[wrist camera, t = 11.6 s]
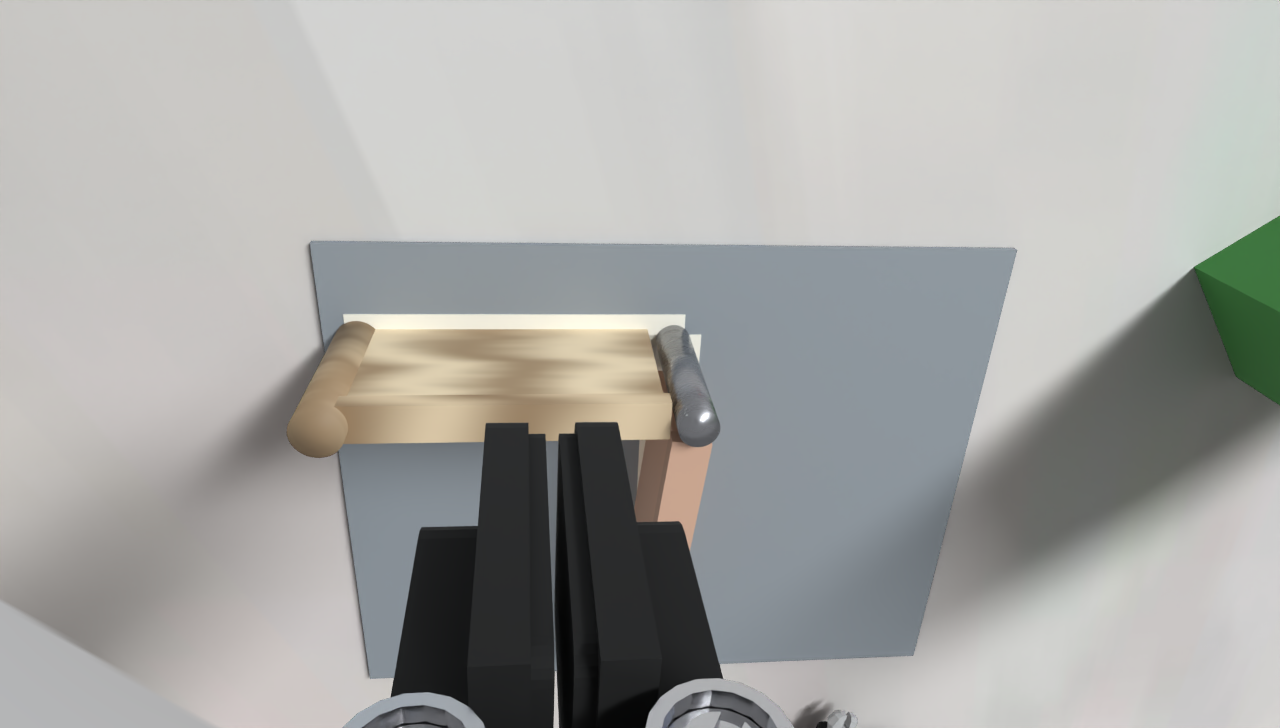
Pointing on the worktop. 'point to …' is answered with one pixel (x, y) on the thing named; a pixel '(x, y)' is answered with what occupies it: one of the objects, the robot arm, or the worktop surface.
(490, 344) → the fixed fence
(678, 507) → the fence gate
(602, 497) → the robot arm
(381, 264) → the card
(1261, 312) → the hardback book
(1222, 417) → the worktop surface
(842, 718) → the robot toy
